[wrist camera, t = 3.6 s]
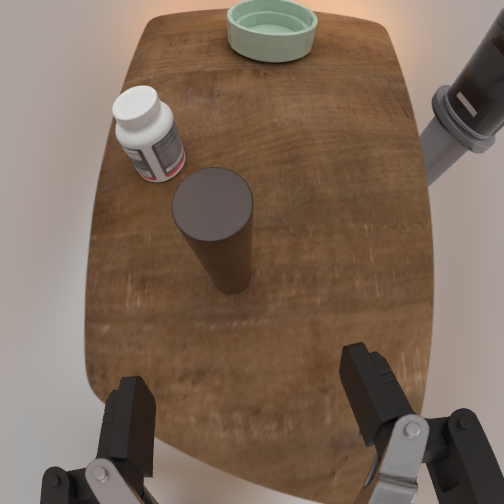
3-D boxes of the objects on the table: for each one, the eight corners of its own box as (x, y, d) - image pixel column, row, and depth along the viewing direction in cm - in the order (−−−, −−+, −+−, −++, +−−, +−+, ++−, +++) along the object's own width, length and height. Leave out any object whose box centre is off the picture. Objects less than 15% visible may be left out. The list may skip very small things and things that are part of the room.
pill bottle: (180, 135, 31) (161, 72, 21) (191, 174, 29) (171, 112, 20) (135, 151, 30) (103, 94, 21) (142, 191, 29) (105, 136, 19)
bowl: (306, 27, 37) (311, 1, 32) (316, 69, 34) (323, 39, 29) (231, 23, 37) (230, -3, 32) (225, 65, 34) (223, 34, 29)
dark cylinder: (250, 259, 27) (253, 166, 12) (249, 294, 26) (252, 242, 11) (214, 258, 27) (175, 167, 12) (213, 293, 26) (167, 241, 11)
